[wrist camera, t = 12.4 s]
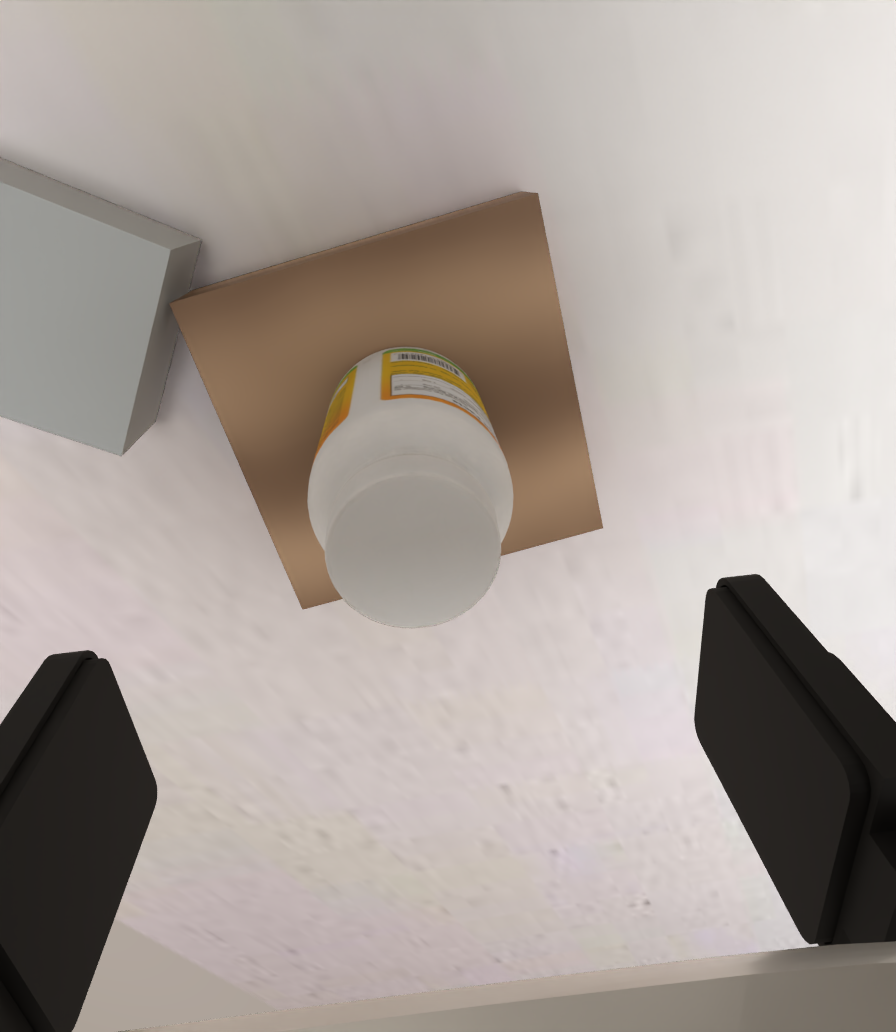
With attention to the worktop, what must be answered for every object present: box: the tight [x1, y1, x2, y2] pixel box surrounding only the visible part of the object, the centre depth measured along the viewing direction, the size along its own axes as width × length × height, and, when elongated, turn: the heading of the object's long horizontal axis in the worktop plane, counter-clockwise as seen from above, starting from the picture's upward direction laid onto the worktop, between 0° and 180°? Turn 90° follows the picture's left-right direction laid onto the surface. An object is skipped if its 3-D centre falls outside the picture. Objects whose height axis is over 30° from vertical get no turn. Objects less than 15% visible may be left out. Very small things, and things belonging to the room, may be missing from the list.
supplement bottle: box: [307, 347, 513, 628], centre depth 20 cm, size 5×5×10 cm
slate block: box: [0, 158, 202, 456], centre depth 23 cm, size 7×7×4 cm
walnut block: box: [169, 192, 603, 609], centre depth 26 cm, size 12×12×3 cm
